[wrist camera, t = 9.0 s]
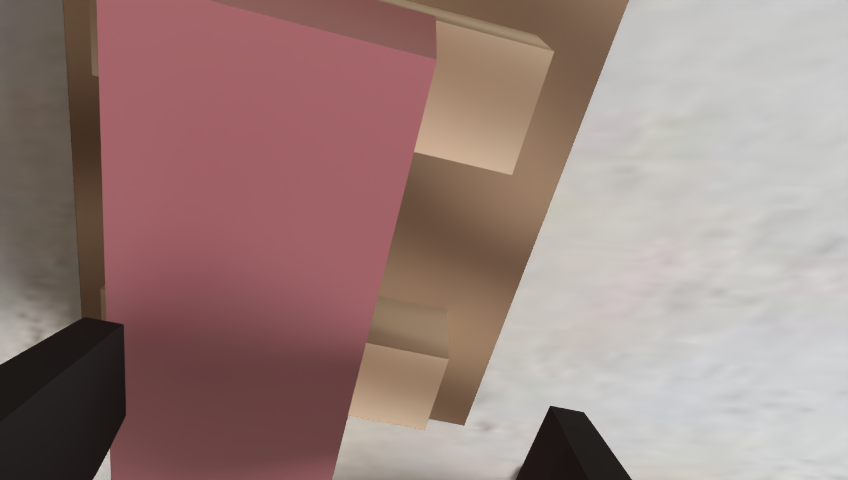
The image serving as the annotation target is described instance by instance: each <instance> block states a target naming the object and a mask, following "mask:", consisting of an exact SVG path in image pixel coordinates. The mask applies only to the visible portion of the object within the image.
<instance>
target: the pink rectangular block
mask: <svg viewBox="0 0 848 480" xmlns="http://www.w3.org/2000/svg"><path fill="white" fill-rule="evenodd" d="M96 1H97V34H98V67H99V99H100V132H101V165H102V198H103V231H104V263H105V296H106V321H109V322H114V323H120V324H124V348H125V389H126V417H125V419H124V421H123V423H122V425H121V427H120V429H119V431H118V433H117V435H116V437H115V439H114V441H113V443H112V445H111V447H110V460H111V480H332V477H333V473H334V469H335V465H336V461H337V457H338V453H339V449H340V445H341V441H342V437H343V433H344V429H345V425H346V421H347V417H348V413H349V409H350V405H351V401H352V397H353V393H354V389H355V385H356V381H357V377H358V373H359V369H360V365H361V361H362V357H363V353H364V349H365V345H366V341H367V337H368V333H369V329H370V325H371V321H372V317H373V313H374V309H375V306H376V302H377V298H378V294H379V290H380V286H381V282H382V278H383V274H384V270H385V266H386V262H387V258H388V254H389V250H390V246H391V242H392V238H393V234H394V230H395V226H396V222H397V218H398V214H399V210H400V206H401V202H402V198H403V194H404V190H405V186H406V182H407V178H408V174H409V170H410V166H411V162H412V158H413V154H414V150H415V146H416V142H417V138H418V134H419V130H420V126H421V122H422V118H423V114H424V110H425V106H426V102H427V98H428V94H429V90H430V86H431V82H432V78H433V74H434V70H435V66H436V62H437V43H436V16H434V15H430V14H426V13H422V12H419V11H415V10H411V9H407V8H404V7H400V6H396V5H393V4H389V3H385V2H381V1H378V0H96Z"/></svg>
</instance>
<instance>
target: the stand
mask: <svg viewBox="0 0 848 480" xmlns="http://www.w3.org/2000/svg"><path fill="white" fill-rule="evenodd" d="M378 1H381V2H385V3H389V4H393V5H396V6H400V7H404V8H407V9H411V10H415V11H419V12H422V13H426V14H430V15H434V16H436V43H437V62H436V66H435V70H434V74H433V78H432V82H431V86H430V90H429V94H428V98H427V102H426V106H425V110H424V114H423V118H422V122H421V126H420V130H419V134H418V138H417V142H416V146H415V150H414V154H413V158H412V162H411V166H410V170H409V174H408V178H407V182H406V186H405V190H404V194H403V198H402V202H401V206H400V210H399V214H398V218H397V222H396V226H395V230H394V234H393V238H392V242H391V246H390V250H389V254H388V258H387V262H386V266H385V270H384V274H383V278H382V282H381V286H380V290H379V294H378V298H377V302H376V306H375V309H374V313H373V317H372V321H371V325H370V329H369V333H368V337H367V341H366V345H365V349H364V353H363V357H362V361H361V365H360V369H359V373H358V377H357V381H356V385H355V389H354V393H353V397H352V401H351V405H350V409H349V413H348V416H352V417H357V418H362V419H368V420H373V421H378V422H384V423H389V424H395V425H400V426H405V427H411V428H416V429H421V430H425V428H426V425H427V422H428V419H433V420H438V421H444V422H449V423H454V424H459V425H465V422H466V419H467V417H468V414H469V412H470V409H471V406H472V404H473V401H474V399H475V396H476V394H477V391H478V388H479V386H480V383H481V381H482V378H483V376H484V373H485V370H486V368H487V365H488V363H489V360H490V357H491V355H492V352H493V350H494V347H495V345H496V342H497V339H498V337H499V334H500V332H501V329H502V326H503V324H504V321H505V319H506V316H507V314H508V311H509V308H510V306H511V303H512V301H513V298H514V295H515V293H516V290H517V288H518V285H519V283H520V280H521V277H522V275H523V272H524V270H525V267H526V264H527V262H528V259H529V257H530V254H531V252H532V249H533V246H534V244H535V241H536V239H537V236H538V233H539V231H540V228H541V226H542V223H543V221H544V218H545V215H546V213H547V210H548V208H549V205H550V202H551V200H552V197H553V195H554V192H555V190H556V187H557V184H558V182H559V179H560V177H561V174H562V172H563V169H564V166H565V164H566V161H567V159H568V156H569V153H570V151H571V148H572V146H573V143H574V141H575V138H576V135H577V133H578V130H579V128H580V125H581V122H582V120H583V117H584V115H585V112H586V110H587V107H588V104H589V102H590V99H591V97H592V94H593V91H594V89H595V86H596V84H597V81H598V79H599V76H600V73H601V71H602V68H603V66H604V63H605V60H606V58H607V55H608V53H609V50H610V48H611V45H612V42H613V40H614V37H615V35H616V32H617V29H618V27H619V24H620V22H621V19H622V17H623V14H624V11H625V9H626V6H627V4H628V1H629V0H378ZM63 9H64V26H65V43H66V59H67V76H68V93H69V110H70V126H71V143H72V160H73V176H74V193H75V210H76V227H77V243H78V260H79V277H80V293H81V310H82V318H84V317H88V318H93V319H99V320H104V321H106V296H105V263H104V231H103V198H102V165H101V132H100V99H99V67H98V34H97V1H96V0H63Z"/></svg>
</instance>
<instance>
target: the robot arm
mask: <svg viewBox="0 0 848 480" xmlns="http://www.w3.org/2000/svg"><path fill="white" fill-rule="evenodd" d="M125 417H126V389H125V348H124V324H120V323H114V322H109V321H104V320H99V319H93V318H88V317H84V318H82V319H80V320H78V321H77V322H75V323H73V324H71V325H69V326H68V327H66V328H64V329H62V330H61V331H59V332H57V333H55V334H54V335H52V336H50V337H48V338H47V339H45V340H43V341H41V342H40V343H38V344H36V345H34V346H33V347H31V348H29V349H27V350H26V351H24V352H22V353H20V354H19V355H17V356H15V357H13V358H12V359H10V360H8V361H6V362H5V363H3V364H1V365H0V480H93V478H94V476H95V475H96V473H97V471H98V469H99V467H100V466H101V464H102V462H103V460H104V458H105V456H106V454H107V452H108V451H109V449H110V447H111V445H112V443H113V441H114V439H115V437H116V435H117V433H118V431H119V429H120V427H121V425H122V423H123V421H124V419H125ZM516 480H632V479H631V478H630V476H629V475H628V474H627V472H626V471H625V469H624V468H623V467H622V465H621V464H620V462H619V461H618V459H617V458H616V457H615V455H614V454H613V452H612V451H611V450H610V448H609V447H608V445H607V444H606V442H605V441H604V440H603V438H602V437H601V435H600V434H599V432H598V431H597V430H596V428H595V427H594V425H593V424H592V423H591V421H590V420H589V419H588V417H587V416H586V415H585V413H584V412H580V411H574V410H569V409H564V408H559V407H554V406H550V408H549V410H548V412H547V414H546V416H545V418H544V420H543V423H542V425H541V427H540V429H539V431H538V433H537V435H536V438H535V440H534V442H533V444H532V446H531V448H530V451H529V453H528V455H527V457H526V459H525V461H524V463H523V466H522V468H521V470H520V472H519V474H518V476H517V478H516Z"/></svg>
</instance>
